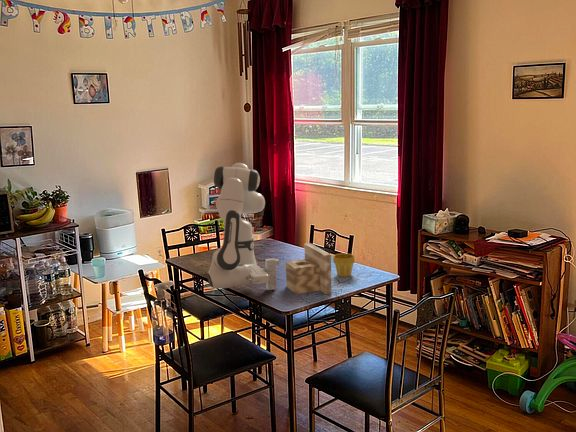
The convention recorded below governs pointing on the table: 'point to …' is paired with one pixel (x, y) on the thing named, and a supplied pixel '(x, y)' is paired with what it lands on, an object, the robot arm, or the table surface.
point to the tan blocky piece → (310, 272)
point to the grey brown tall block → (271, 266)
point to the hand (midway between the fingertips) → (272, 271)
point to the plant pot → (343, 264)
